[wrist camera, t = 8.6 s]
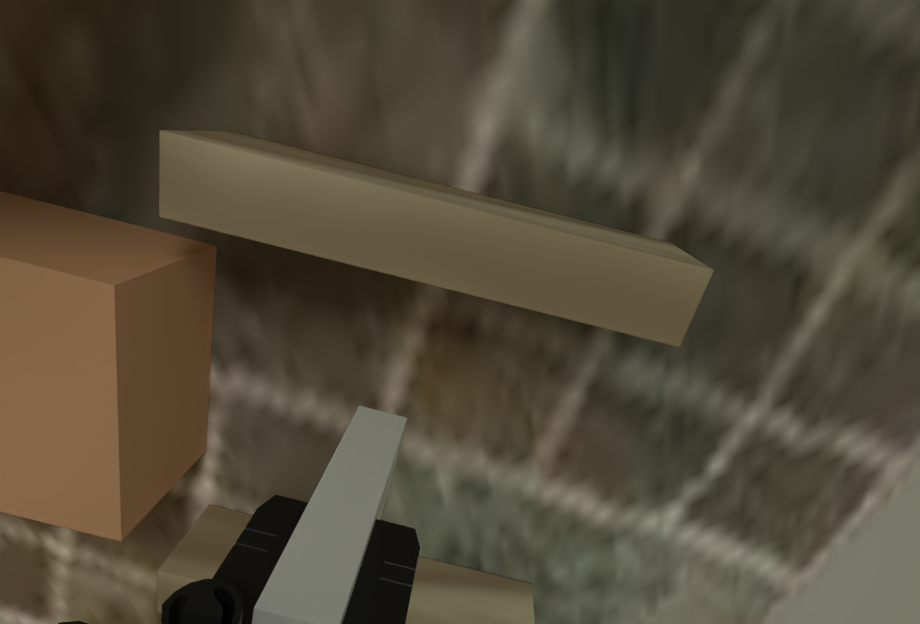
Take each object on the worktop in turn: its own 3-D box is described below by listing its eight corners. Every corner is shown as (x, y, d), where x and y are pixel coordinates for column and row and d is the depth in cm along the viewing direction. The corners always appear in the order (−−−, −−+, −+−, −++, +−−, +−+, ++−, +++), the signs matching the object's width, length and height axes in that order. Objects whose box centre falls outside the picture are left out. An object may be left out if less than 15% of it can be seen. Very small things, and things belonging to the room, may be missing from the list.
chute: (229, 130, 14) (160, 130, 11) (670, 242, 14) (714, 270, 11) (206, 542, 19) (157, 611, 16) (517, 618, 19) (521, 700, 17)
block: (-88, 165, 15) (-315, 177, 11) (221, 243, 15) (113, 285, 11) (-50, 381, 18) (-219, 457, 14) (210, 446, 18) (121, 541, 14)
